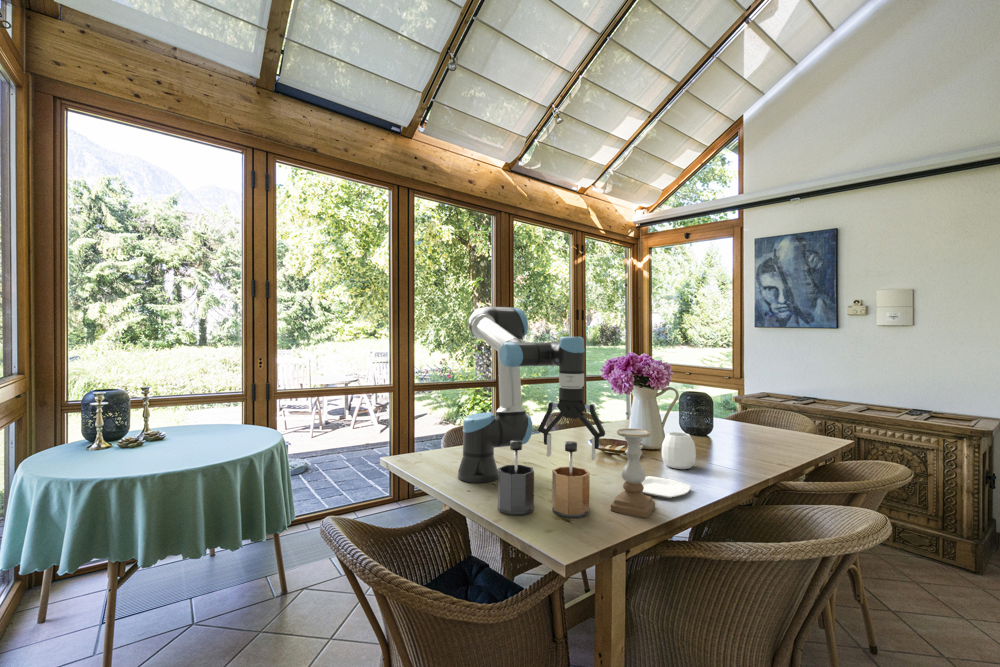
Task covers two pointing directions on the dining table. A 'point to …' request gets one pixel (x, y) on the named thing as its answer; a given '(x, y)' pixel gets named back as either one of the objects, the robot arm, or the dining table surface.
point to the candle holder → (633, 478)
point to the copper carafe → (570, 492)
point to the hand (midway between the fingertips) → (570, 457)
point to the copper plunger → (570, 453)
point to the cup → (678, 450)
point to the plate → (664, 487)
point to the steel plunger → (516, 451)
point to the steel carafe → (515, 490)
